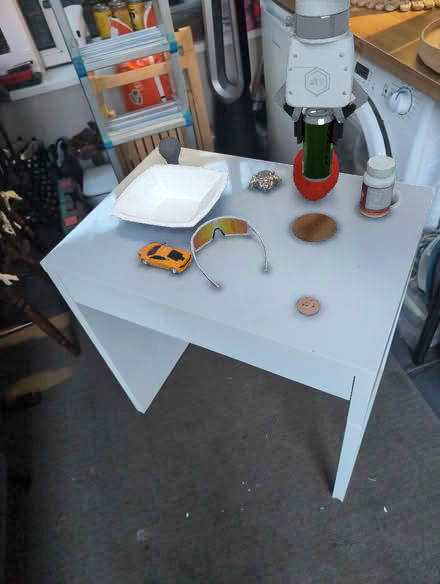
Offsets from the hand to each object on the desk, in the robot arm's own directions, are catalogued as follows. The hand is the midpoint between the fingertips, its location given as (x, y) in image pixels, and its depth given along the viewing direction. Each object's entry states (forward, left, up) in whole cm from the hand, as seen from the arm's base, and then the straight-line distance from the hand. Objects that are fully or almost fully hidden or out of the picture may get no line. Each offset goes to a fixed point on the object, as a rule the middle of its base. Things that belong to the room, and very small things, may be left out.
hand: (318, 140), depth 75 cm
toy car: (+28, +15, -20) cm, 38 cm away
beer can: (0, 0, -7) cm, 7 cm away
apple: (+2, -12, -20) cm, 24 cm away
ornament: (+14, -14, -20) cm, 28 cm away
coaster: (0, -1, -20) cm, 20 cm away
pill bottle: (-11, -9, -20) cm, 25 cm away
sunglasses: (+15, +11, -20) cm, 28 cm away
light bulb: (+39, -17, -20) cm, 47 cm away
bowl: (+32, -1, -20) cm, 38 cm away
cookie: (-3, +21, -20) cm, 29 cm away
